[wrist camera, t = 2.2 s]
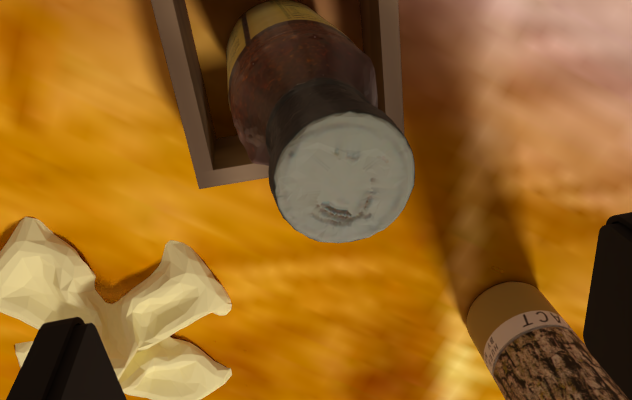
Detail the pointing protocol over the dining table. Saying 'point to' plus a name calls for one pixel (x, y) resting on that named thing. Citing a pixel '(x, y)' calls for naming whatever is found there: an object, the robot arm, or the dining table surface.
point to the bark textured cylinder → (534, 348)
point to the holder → (228, 152)
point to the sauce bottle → (316, 123)
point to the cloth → (119, 311)
